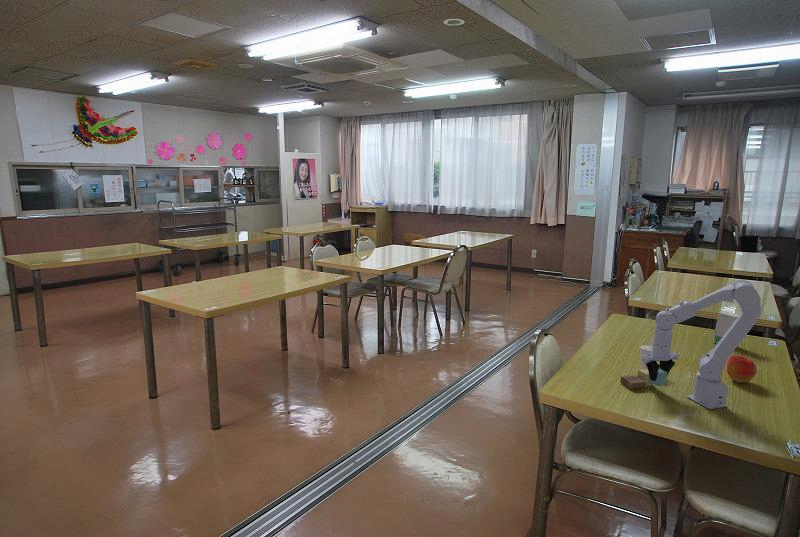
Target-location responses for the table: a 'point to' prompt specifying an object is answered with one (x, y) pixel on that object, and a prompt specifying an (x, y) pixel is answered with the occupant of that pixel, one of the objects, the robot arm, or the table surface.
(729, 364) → the apple
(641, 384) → the walnut slab
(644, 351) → the smoothie
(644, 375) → the mustard block
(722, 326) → the skincare box
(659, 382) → the teal block
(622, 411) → the table surface
